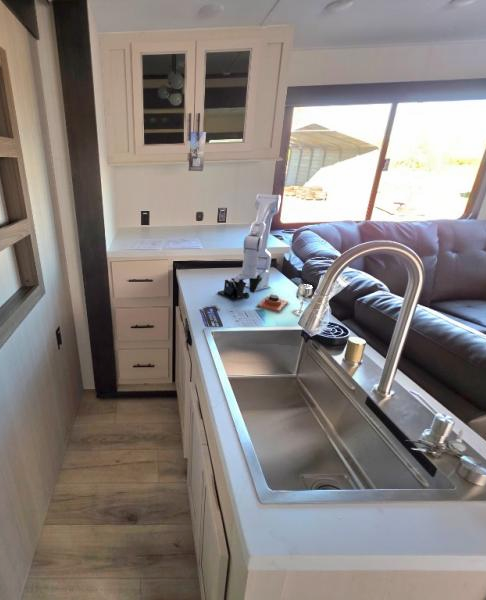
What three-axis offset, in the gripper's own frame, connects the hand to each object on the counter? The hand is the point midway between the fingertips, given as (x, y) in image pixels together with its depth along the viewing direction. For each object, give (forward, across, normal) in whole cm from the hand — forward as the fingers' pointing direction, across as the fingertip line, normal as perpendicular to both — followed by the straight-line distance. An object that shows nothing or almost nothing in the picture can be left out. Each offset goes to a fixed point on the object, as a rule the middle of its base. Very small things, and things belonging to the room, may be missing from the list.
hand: (245, 293), depth 138 cm
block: (+4, +8, -8) cm, 12 cm away
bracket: (+4, 0, +8) cm, 9 cm away
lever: (+1, 0, +5) cm, 5 cm away
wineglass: (+4, +11, -20) cm, 23 cm away
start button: (+1, +8, -8) cm, 12 cm away
